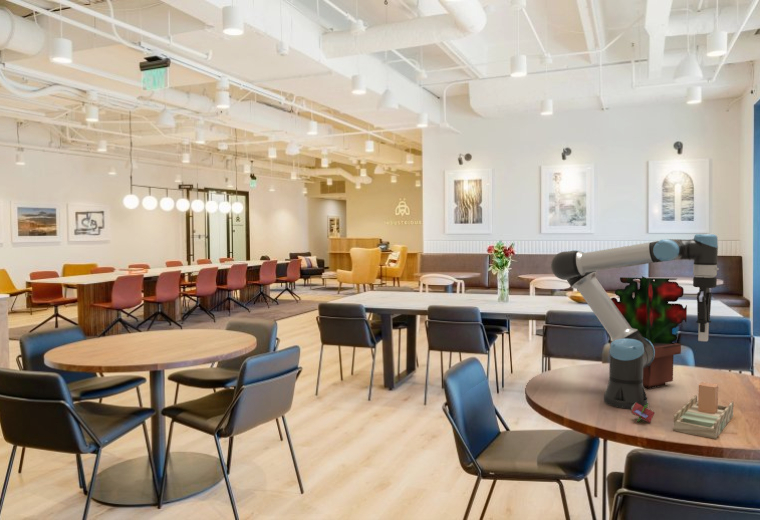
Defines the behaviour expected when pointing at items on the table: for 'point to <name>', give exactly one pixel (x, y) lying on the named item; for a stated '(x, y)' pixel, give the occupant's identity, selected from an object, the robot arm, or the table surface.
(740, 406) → the table surface
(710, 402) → the block
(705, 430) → the beige open frame
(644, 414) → the icosahedron model
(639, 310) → the potted plant
